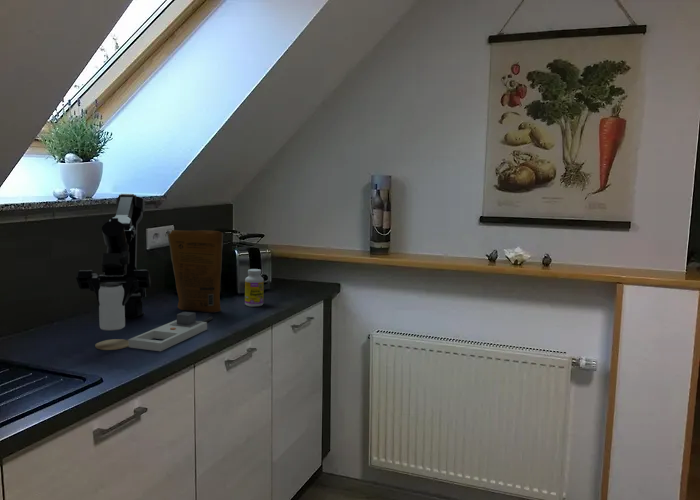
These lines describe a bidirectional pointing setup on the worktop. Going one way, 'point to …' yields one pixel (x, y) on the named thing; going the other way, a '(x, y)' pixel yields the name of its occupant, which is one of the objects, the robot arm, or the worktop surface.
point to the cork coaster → (112, 344)
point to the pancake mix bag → (197, 268)
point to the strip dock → (166, 335)
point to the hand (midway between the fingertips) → (111, 305)
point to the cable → (208, 319)
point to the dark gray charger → (186, 318)
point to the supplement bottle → (254, 288)
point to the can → (111, 306)
